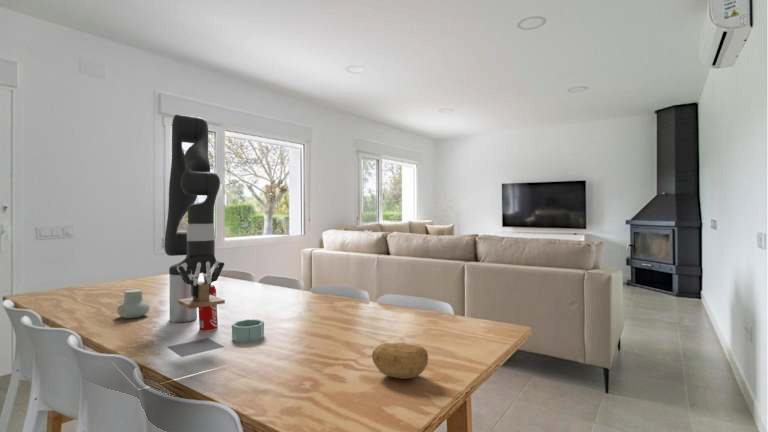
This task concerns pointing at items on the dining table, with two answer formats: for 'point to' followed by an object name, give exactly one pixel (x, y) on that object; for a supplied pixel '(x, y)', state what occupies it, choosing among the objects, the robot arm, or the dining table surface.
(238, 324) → the bowl
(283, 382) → the dining table surface
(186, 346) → the mat
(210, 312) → the beverage can
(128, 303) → the air freshener
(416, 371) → the potato
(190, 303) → the lid
